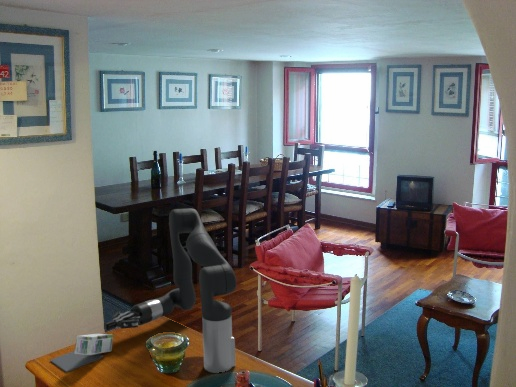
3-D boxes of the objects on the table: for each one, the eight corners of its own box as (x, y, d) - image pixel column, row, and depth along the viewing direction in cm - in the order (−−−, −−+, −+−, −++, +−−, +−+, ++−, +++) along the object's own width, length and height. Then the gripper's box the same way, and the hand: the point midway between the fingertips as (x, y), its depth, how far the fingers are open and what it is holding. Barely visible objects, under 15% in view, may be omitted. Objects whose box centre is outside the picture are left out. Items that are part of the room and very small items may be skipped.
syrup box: (111, 351, 180) (90, 355, 166) (96, 350, 181) (73, 354, 167) (113, 334, 181) (92, 336, 167) (97, 333, 182) (75, 335, 169)
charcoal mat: (86, 347, 184) (86, 345, 183) (103, 357, 176) (103, 356, 176) (50, 361, 174) (50, 359, 174) (66, 372, 167) (66, 371, 167)
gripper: (136, 297, 198) (94, 311, 186) (157, 306, 189) (114, 322, 177) (137, 316, 199) (95, 331, 187) (158, 326, 190) (116, 343, 178)
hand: (105, 327), depth 182 cm, fingers closed
